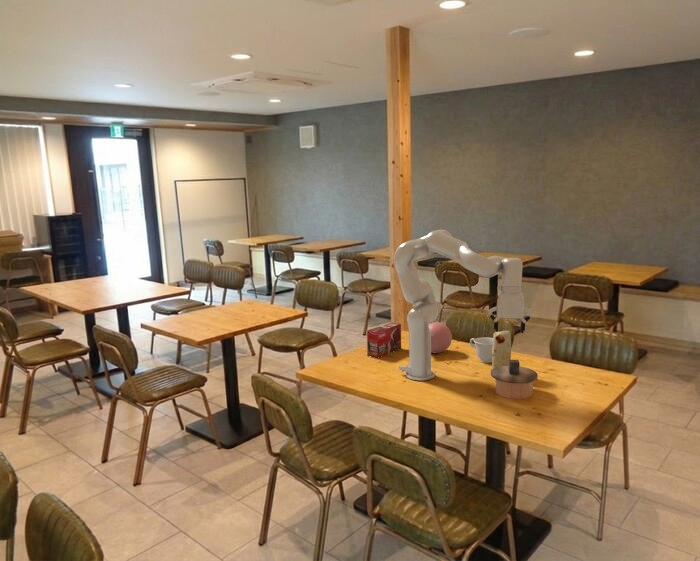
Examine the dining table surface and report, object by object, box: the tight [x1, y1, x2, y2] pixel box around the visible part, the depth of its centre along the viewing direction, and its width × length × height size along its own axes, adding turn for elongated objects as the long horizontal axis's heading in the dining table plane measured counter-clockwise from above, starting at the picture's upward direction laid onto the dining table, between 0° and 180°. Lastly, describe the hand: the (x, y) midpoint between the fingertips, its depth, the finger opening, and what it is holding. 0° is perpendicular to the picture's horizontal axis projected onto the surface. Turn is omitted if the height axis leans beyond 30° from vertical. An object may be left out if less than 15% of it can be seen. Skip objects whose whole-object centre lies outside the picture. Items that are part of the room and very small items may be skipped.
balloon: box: [429, 321, 453, 354], centre depth 271 cm, size 15×20×15 cm
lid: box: [490, 359, 539, 383], centre depth 217 cm, size 18×18×6 cm
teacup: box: [469, 336, 493, 364], centre depth 258 cm, size 12×15×10 cm
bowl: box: [494, 378, 534, 400], centre depth 218 cm, size 14×14×7 cm
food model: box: [491, 330, 512, 370], centre depth 237 cm, size 10×7×20 cm
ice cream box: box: [366, 321, 402, 359], centre depth 274 cm, size 20×6×13 cm, turn 139°
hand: (509, 331), depth 216 cm, fingers open, 9 cm apart
